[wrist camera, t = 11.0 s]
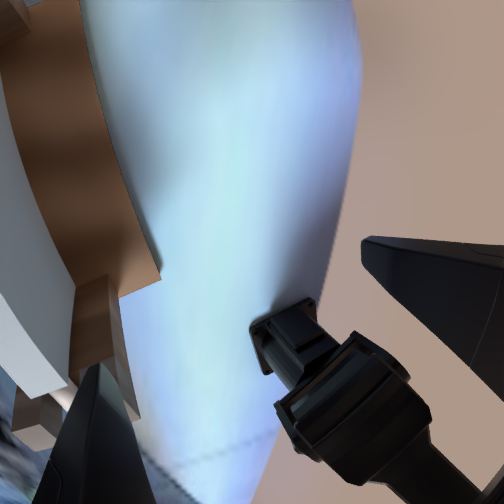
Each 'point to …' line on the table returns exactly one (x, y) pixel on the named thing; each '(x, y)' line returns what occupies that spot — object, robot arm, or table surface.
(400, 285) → the robot arm
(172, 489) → the table surface
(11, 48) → the hinge frame
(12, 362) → the door
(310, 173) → the table surface
